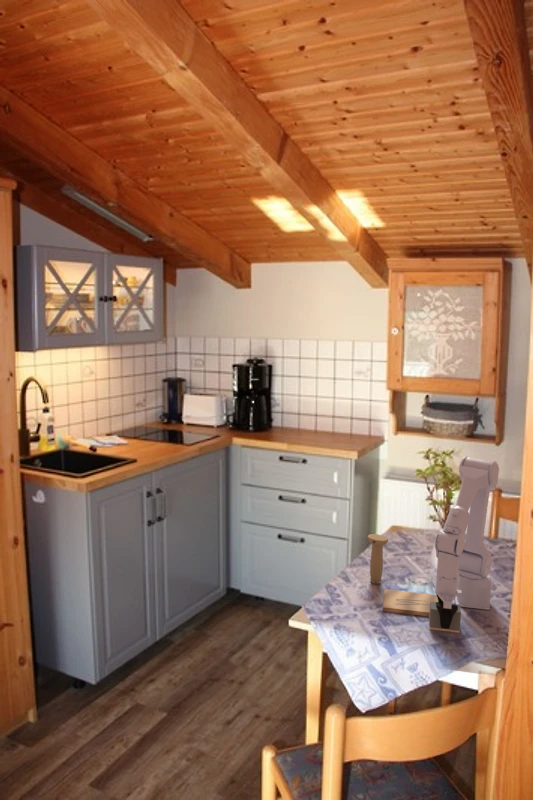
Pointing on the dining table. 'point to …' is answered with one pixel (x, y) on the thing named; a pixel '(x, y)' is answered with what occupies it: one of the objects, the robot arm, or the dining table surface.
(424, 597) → the oak board
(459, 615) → the block
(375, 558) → the handle
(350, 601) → the dining table surface
